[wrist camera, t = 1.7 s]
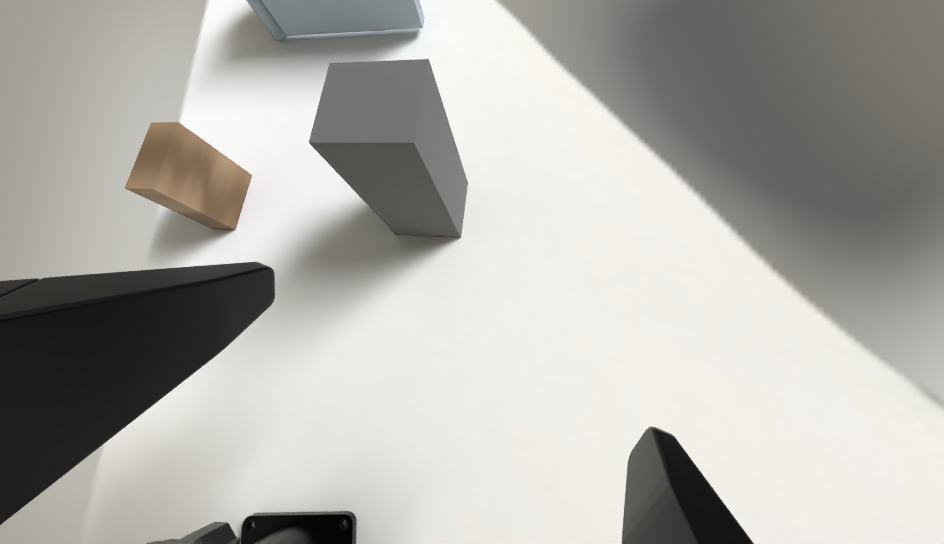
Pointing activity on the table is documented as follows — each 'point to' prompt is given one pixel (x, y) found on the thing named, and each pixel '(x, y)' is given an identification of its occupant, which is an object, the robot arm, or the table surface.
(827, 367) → the table surface
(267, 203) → the table surface
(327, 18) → the door
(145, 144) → the wooden blocks
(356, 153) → the tall gray pillar
